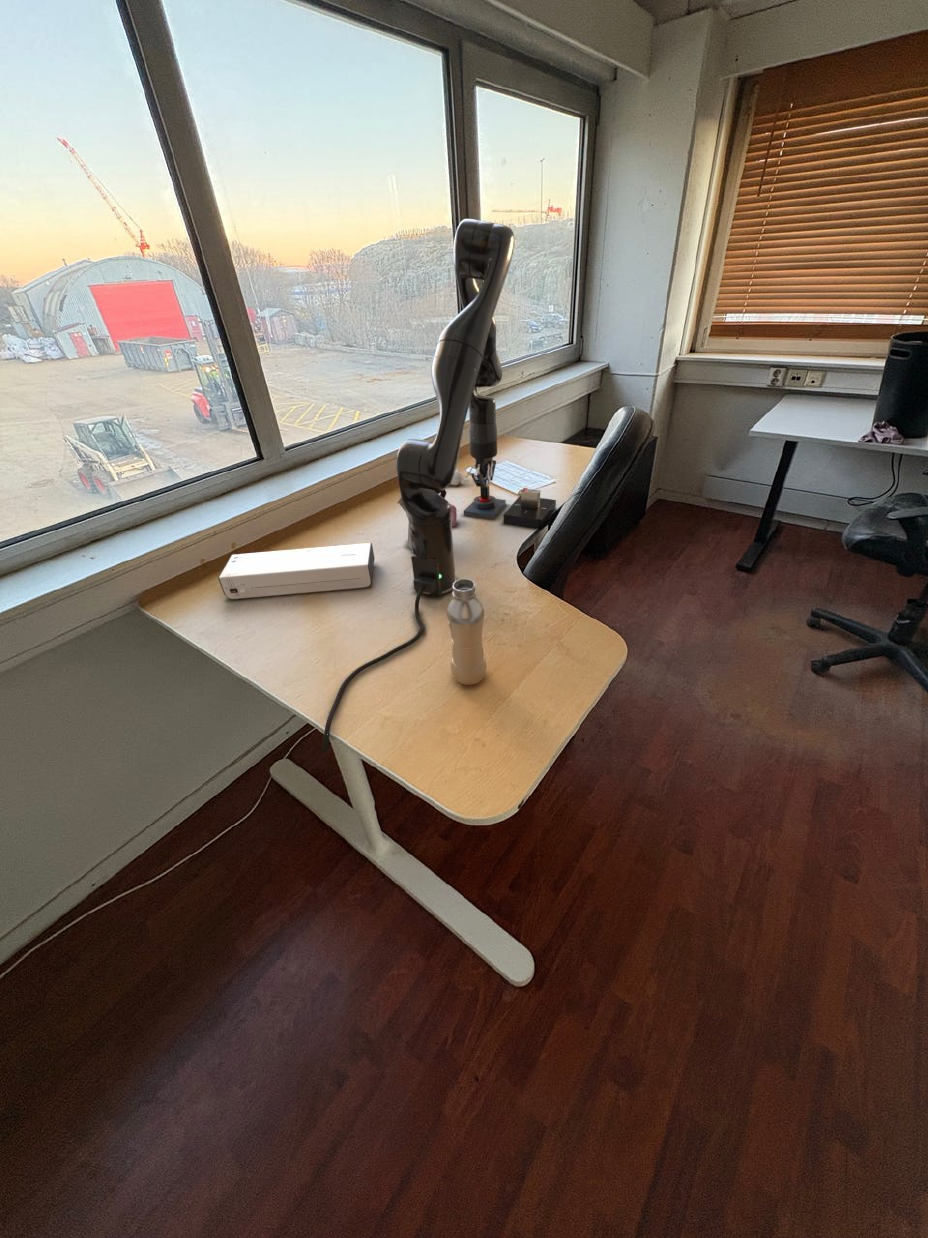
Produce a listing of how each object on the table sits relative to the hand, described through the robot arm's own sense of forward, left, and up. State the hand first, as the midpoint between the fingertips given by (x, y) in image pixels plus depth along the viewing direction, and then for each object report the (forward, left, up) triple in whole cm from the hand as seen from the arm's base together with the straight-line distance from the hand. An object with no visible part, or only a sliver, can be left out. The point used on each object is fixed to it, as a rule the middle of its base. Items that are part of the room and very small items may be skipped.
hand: (485, 497), depth 148 cm
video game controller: (-12, +9, -4) cm, 16 cm away
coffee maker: (-24, +7, -4) cm, 25 cm away
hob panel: (0, -14, -4) cm, 14 cm away
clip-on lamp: (+19, +18, -4) cm, 26 cm away
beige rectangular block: (0, -14, -1) cm, 14 cm away
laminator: (-52, +26, -4) cm, 58 cm away
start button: (0, 0, -2) cm, 2 cm away
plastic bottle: (-68, -25, -4) cm, 73 cm away
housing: (0, 0, -4) cm, 4 cm away
